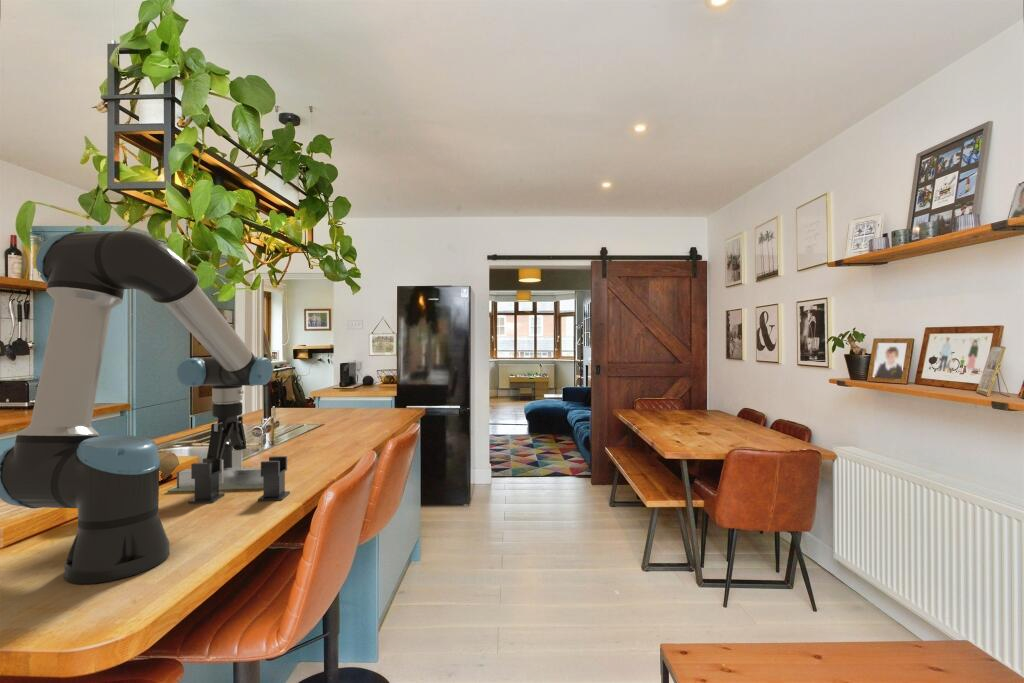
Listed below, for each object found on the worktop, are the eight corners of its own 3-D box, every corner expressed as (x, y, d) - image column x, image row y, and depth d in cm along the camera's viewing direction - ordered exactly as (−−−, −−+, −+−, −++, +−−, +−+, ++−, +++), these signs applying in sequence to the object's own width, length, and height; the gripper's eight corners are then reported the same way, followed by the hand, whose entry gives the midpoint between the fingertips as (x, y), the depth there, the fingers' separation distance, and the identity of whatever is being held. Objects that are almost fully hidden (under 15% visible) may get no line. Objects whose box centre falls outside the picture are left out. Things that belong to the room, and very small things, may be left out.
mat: (272, 488, 137) (272, 486, 137) (167, 491, 134) (167, 490, 134) (282, 481, 144) (282, 479, 144) (182, 484, 141) (182, 482, 141)
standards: (281, 500, 126) (281, 461, 126) (188, 503, 123) (188, 464, 123) (290, 493, 132) (290, 456, 132) (201, 496, 130) (201, 458, 130)
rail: (270, 485, 138) (270, 469, 138) (176, 488, 135) (176, 472, 135) (274, 481, 142) (274, 466, 142) (183, 484, 139) (183, 469, 139)
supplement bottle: (212, 469, 158) (212, 432, 158) (235, 467, 160) (235, 431, 160) (205, 474, 151) (205, 436, 151) (230, 472, 153) (230, 435, 153)
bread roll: (185, 471, 155) (185, 447, 155) (168, 484, 141) (168, 457, 141) (150, 474, 152) (150, 449, 152) (129, 487, 138) (129, 460, 138)
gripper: (221, 408, 128) (221, 489, 128) (258, 397, 151) (258, 466, 151) (191, 408, 127) (191, 490, 127) (233, 397, 150) (233, 466, 151)
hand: (227, 477), depth 139 cm, fingers open, 11 cm apart
